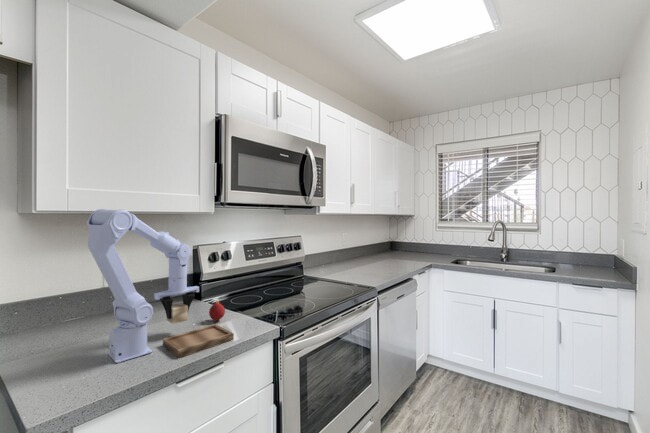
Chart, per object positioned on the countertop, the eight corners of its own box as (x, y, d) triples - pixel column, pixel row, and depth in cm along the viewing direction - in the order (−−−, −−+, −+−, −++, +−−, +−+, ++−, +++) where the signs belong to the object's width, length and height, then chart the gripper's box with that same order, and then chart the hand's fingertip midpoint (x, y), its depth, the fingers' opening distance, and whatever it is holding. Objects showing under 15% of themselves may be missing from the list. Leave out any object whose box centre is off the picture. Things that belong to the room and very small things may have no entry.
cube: (172, 323, 104) (173, 309, 104) (166, 320, 107) (167, 305, 107) (187, 320, 108) (187, 305, 108) (181, 316, 111) (181, 302, 111)
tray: (178, 358, 90) (179, 350, 90) (162, 345, 98) (162, 338, 98) (233, 339, 104) (233, 333, 104) (215, 330, 112) (215, 324, 112)
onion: (219, 324, 117) (219, 303, 117) (206, 323, 119) (206, 302, 118) (227, 319, 123) (227, 299, 123) (214, 318, 124) (214, 298, 124)
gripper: (193, 272, 115) (192, 308, 116) (150, 278, 105) (150, 318, 105) (202, 275, 111) (201, 313, 111) (158, 281, 100) (158, 323, 100)
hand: (177, 316), depth 108 cm, fingers closed on cube, 5 cm apart
